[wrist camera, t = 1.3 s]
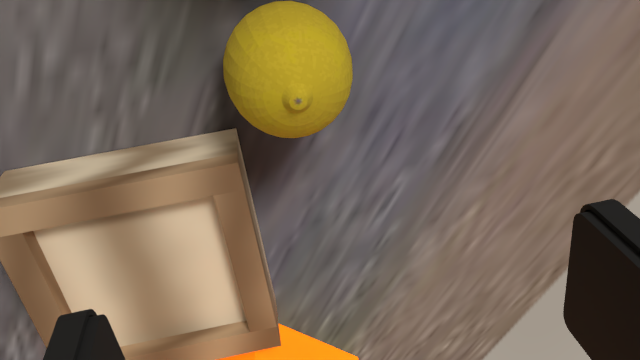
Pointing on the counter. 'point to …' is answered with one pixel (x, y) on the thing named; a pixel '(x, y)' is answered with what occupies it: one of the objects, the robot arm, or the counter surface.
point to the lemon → (288, 69)
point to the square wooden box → (144, 247)
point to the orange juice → (296, 349)
